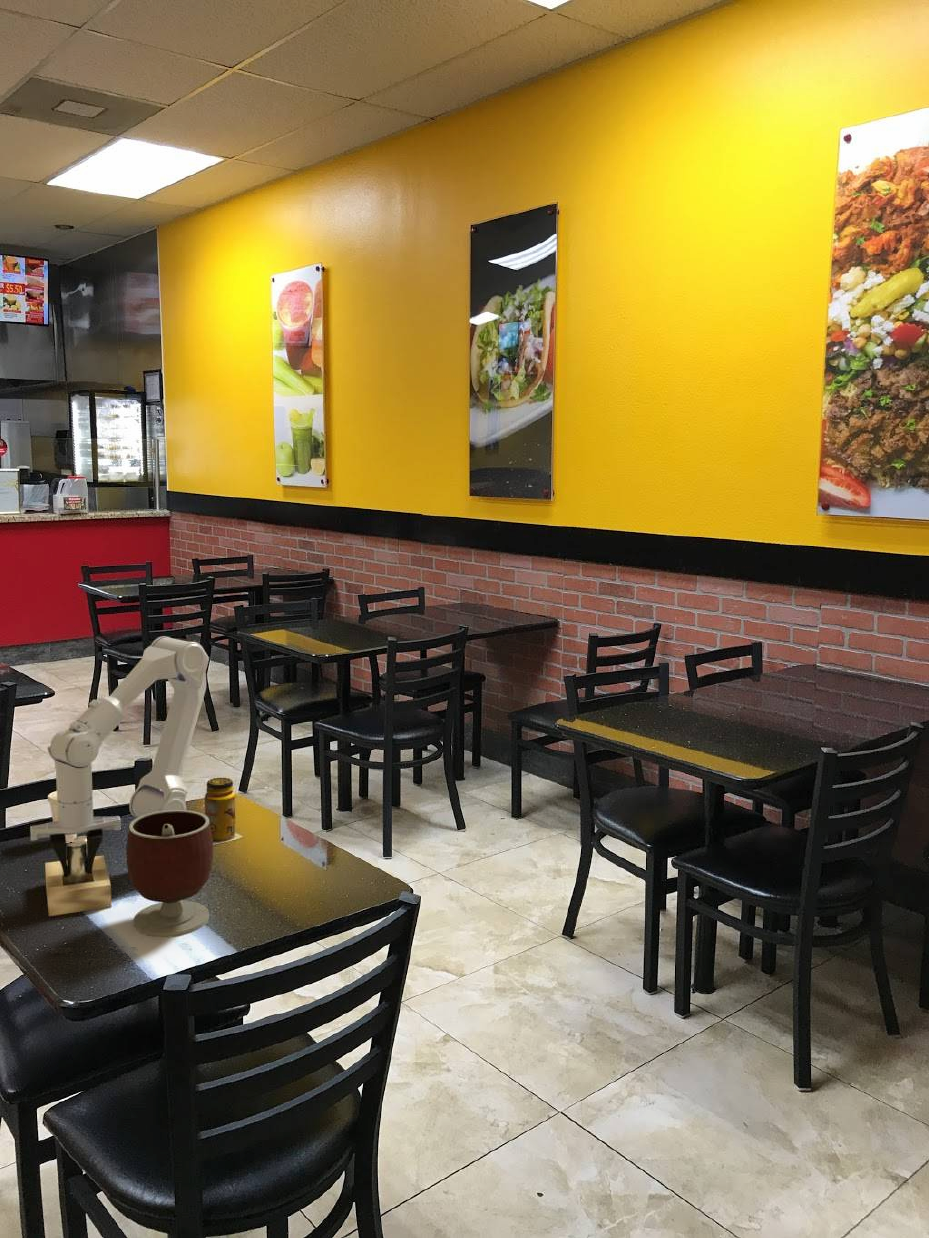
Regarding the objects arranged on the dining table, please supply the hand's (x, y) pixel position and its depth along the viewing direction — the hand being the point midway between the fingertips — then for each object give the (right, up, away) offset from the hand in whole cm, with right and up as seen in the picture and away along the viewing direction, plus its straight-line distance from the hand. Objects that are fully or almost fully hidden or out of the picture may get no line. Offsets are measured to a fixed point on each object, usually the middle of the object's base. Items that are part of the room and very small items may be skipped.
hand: (77, 873), depth 175 cm
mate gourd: (+18, -7, -7) cm, 21 cm away
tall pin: (0, -3, 0) cm, 3 cm away
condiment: (+16, -1, +31) cm, 35 cm away
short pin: (-6, -2, +19) cm, 20 cm away
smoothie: (-13, -1, +28) cm, 30 cm away
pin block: (-1, -5, +3) cm, 5 cm away
